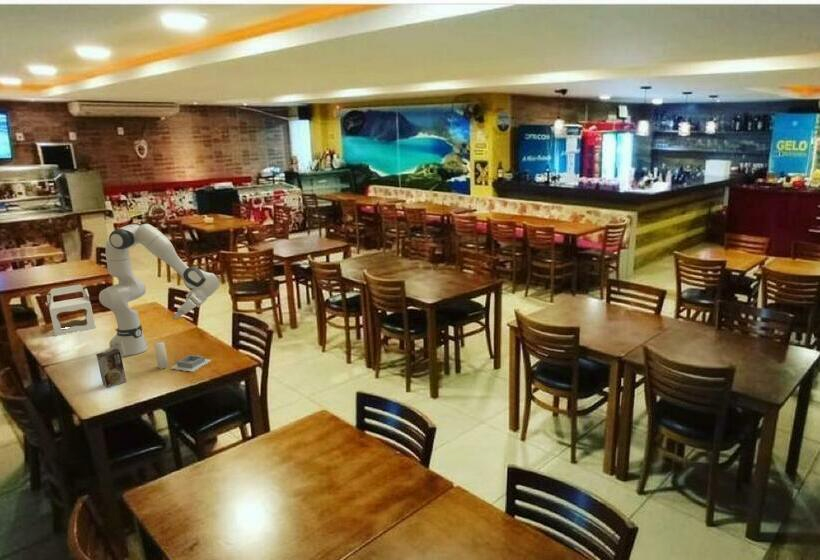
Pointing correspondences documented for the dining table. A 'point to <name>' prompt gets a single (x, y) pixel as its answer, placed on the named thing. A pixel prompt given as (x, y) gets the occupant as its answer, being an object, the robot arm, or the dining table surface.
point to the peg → (161, 355)
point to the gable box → (70, 306)
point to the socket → (191, 363)
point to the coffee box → (111, 368)
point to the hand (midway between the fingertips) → (174, 318)
